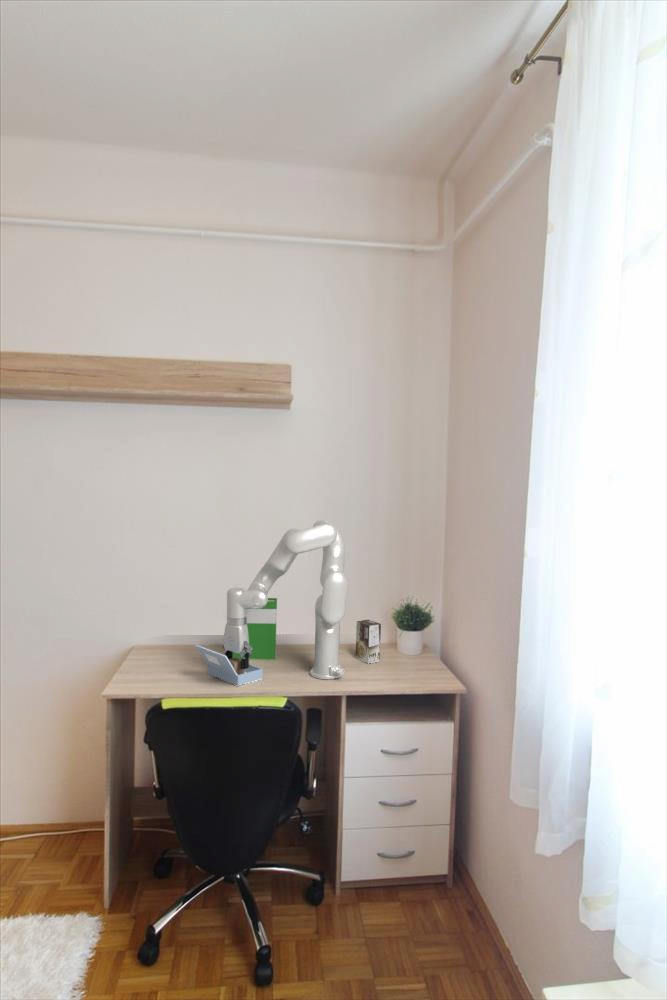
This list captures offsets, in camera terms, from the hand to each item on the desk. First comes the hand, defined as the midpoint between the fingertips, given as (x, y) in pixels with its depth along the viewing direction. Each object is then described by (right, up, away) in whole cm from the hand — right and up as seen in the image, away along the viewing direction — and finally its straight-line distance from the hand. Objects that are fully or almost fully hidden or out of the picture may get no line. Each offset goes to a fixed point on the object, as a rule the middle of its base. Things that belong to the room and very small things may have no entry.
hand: (236, 665), depth 253 cm
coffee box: (+51, -4, +26) cm, 57 cm away
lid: (-6, +4, -7) cm, 10 cm away
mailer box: (-1, -4, 0) cm, 4 cm away
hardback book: (+3, -3, +26) cm, 27 cm away
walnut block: (-1, -4, 0) cm, 4 cm away
